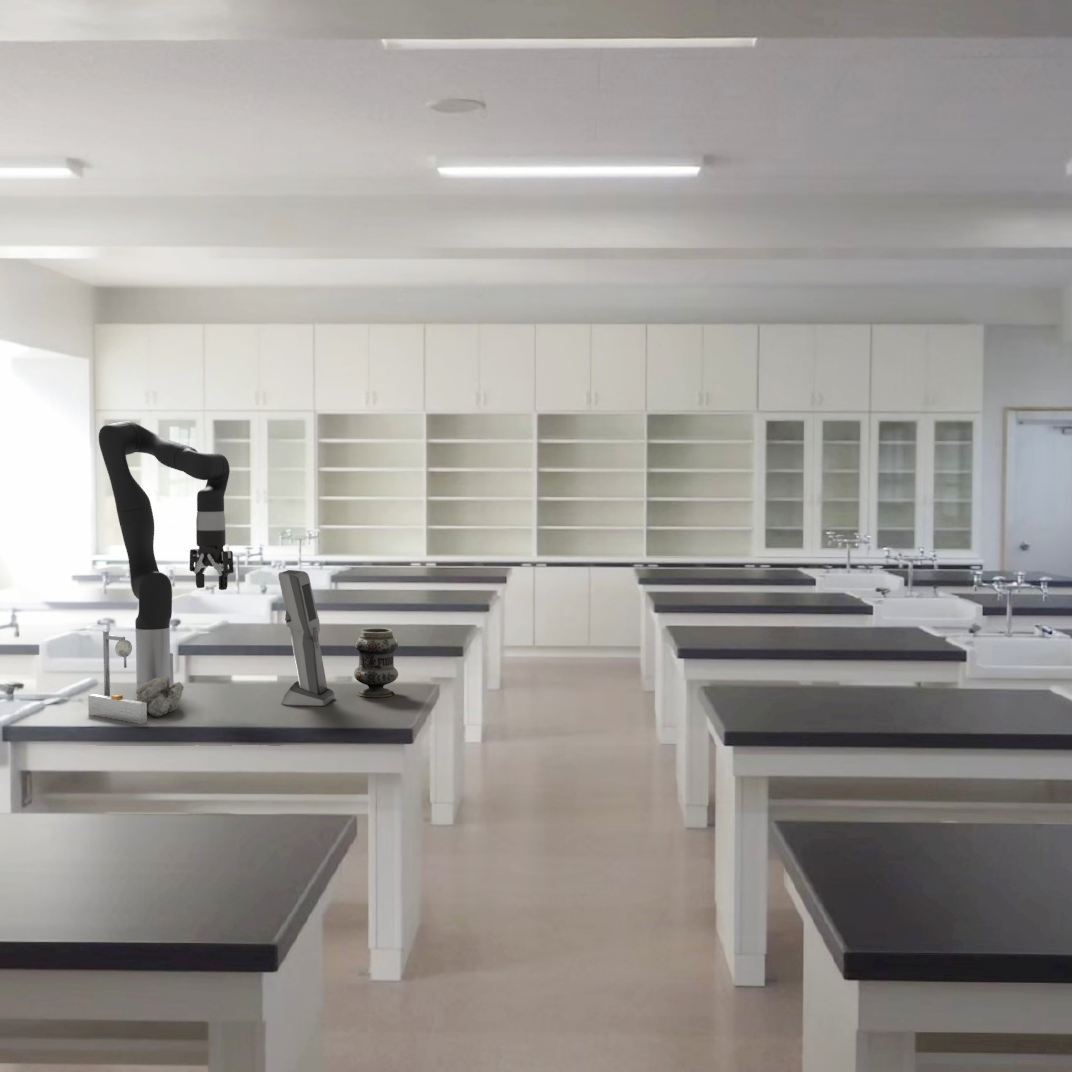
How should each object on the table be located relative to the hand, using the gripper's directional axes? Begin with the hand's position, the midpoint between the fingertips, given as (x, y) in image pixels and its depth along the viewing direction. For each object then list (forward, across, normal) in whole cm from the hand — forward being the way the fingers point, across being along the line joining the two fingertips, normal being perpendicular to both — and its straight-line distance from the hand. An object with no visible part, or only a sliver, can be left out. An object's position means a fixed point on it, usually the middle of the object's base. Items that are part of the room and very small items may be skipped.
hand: (211, 588), depth 339 cm
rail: (+30, +1, +30) cm, 43 cm away
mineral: (+30, -2, +19) cm, 36 cm away
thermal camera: (+30, -24, -12) cm, 40 cm away
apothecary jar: (+30, -32, -30) cm, 53 cm away
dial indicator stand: (+30, +16, +20) cm, 39 cm away
